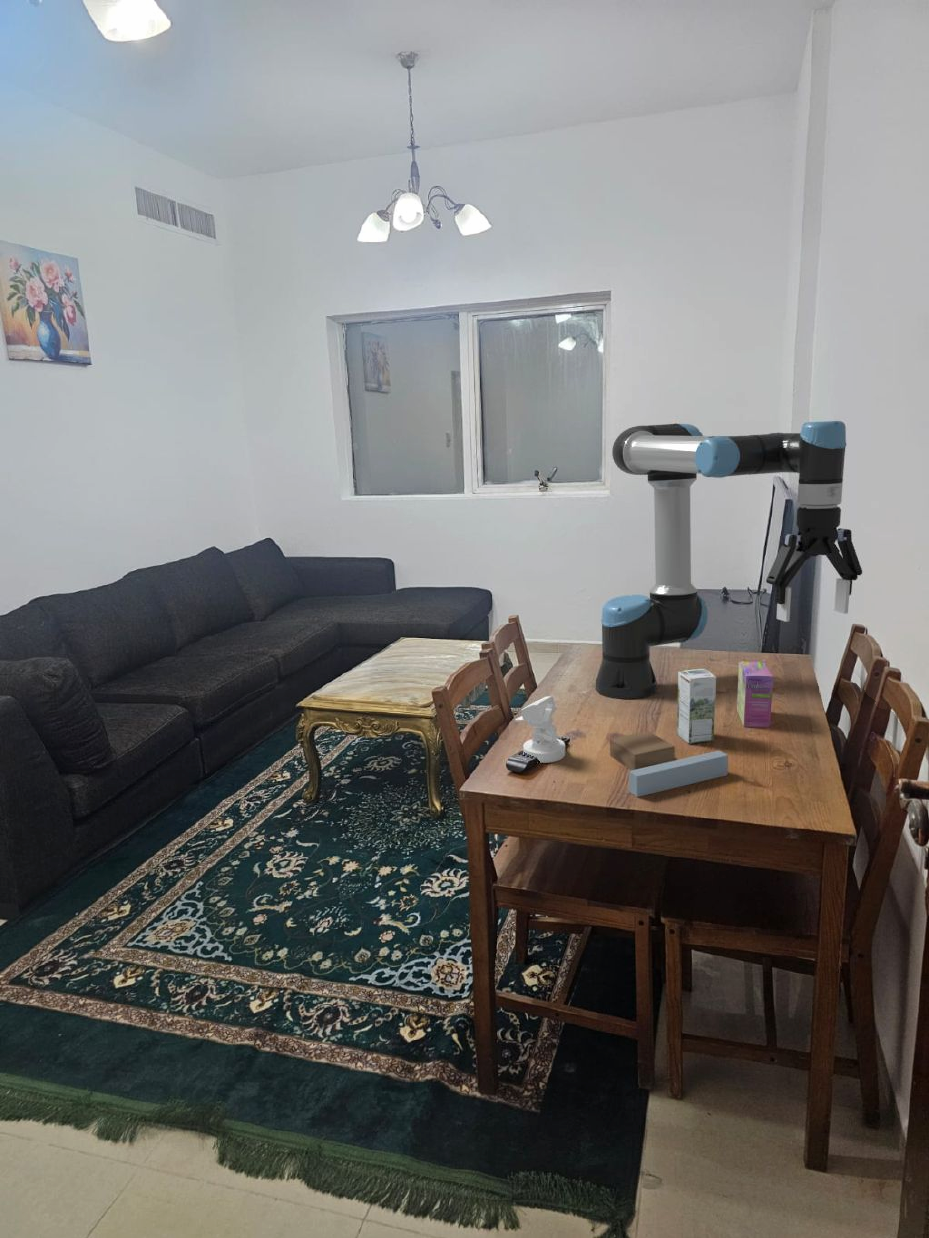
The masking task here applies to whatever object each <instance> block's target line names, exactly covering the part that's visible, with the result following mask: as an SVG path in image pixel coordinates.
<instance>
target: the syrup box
mask: <svg viewBox="0 0 929 1238" xmlns="http://www.w3.org/2000/svg"><path fill="white" fill-rule="evenodd" d="M677 674H678V677H677V678H678V679H677V711H676V712H677V714H676V715H677V716H676V717H677V718H676V719H677V721H676V735H677V736H679V737H680V738H681V739H682V740H683V741H685V742H686V743H687V744H689V745H690V744H698V743H708V742H713V741H714V736H715V717H716V716H715V715H716V692H717V691H716V690H717V689H716V688H717V687H716V686H717V677H716V676H715V675H714V674H713V673H712V672H710V671H709V670H707V669H705V668H697V669H687V670H678V673H677Z"/></svg>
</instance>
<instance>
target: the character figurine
mask: <svg viewBox="0 0 929 1238" xmlns="http://www.w3.org/2000/svg"><path fill="white" fill-rule="evenodd" d="M557 709H558V708H557V707H556V705H555V699H554V696H553V695H550V696H549V695H548V696H547V695H546V696H544V697H542V698H541V699H538V700H536V701H533V702H532V703H530V704H528V705H526V706H525V707H523V708H522V709H521V710H520V713H521V716H519V717H517V718H515V719H514V722H515V723H519V722H527V726H528V727H531V728H534V729H533V733H532V736H533V737H532V738H531V739H528V740H527V741H525V742H524V743H523V746H522V749H523V751H522V752H523V753H524V752H525V753H527V754H529V755H531V756H534V757H537V759H538V760H539V761H540V763H539V764H542V763H543V764H547V763H553V762H557V761H560V760H562V759H564V757H565V756H566V744H565V743H566V742H564V740H562V739H561V738H557V737H558V729H557V727H556V725H553V724H554V719H553V718H552V717H553V715H554V714H555V712H557V711H556V710H557Z"/></svg>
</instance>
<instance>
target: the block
mask: <svg viewBox="0 0 929 1238" xmlns="http://www.w3.org/2000/svg"><path fill="white" fill-rule="evenodd" d="M675 750H676V749H675V745H674V744H671V743H670V742H668V741H666V740H665V739H663V738H661V737H659V736H658V735H656V734H654V733H652V732H650V731H649V730H646V731H641V732H636V733H632V734H627V735H622V736H618V737H617V736H616V737H612V738H609V756H610V757H611V758H613V759H614V760H615V761H617V762H618V763H620V764H621V765H623V766H624V767H626V768H627V769H629V771H632V770H636V769H640V768H645V767H649V766H653V765H658V764H662V763H666V762H671V761H675V756H676V754H675V752H676V751H675Z"/></svg>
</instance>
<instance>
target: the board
mask: <svg viewBox="0 0 929 1238" xmlns="http://www.w3.org/2000/svg"><path fill="white" fill-rule="evenodd" d="M728 766H729V754H727V753H726V752H723V751H721V750H715V751H711V752H706V753H703V754H698V755H697V754H696V755H692V756H689V757H685V758H680V759H676V760H675V761H671V762H666V763H662V764H658V765H653V766H649V767H645V768H640V769H636V770H629V771H628V792H629V793H630V794H632V795H633V796H635V797H636V798H639V797H643V796H647V795H650V794H651V795H652V794H654V793H659V792H664V791H668V790H671V789H676V788H680V787H684V786H688V785H692V784H696V783H700V782H704V781H707V780H712V779H716V778H720V777H725V776H728V775H729V774H728V770H729V769H728V768H729V767H728Z"/></svg>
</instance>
